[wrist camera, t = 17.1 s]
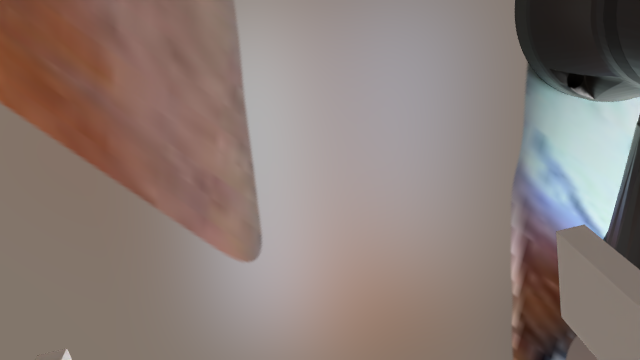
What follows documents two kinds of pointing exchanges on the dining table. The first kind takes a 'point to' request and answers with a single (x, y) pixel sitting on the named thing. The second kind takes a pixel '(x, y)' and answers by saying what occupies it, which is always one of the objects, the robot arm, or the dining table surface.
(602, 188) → the dining table surface
